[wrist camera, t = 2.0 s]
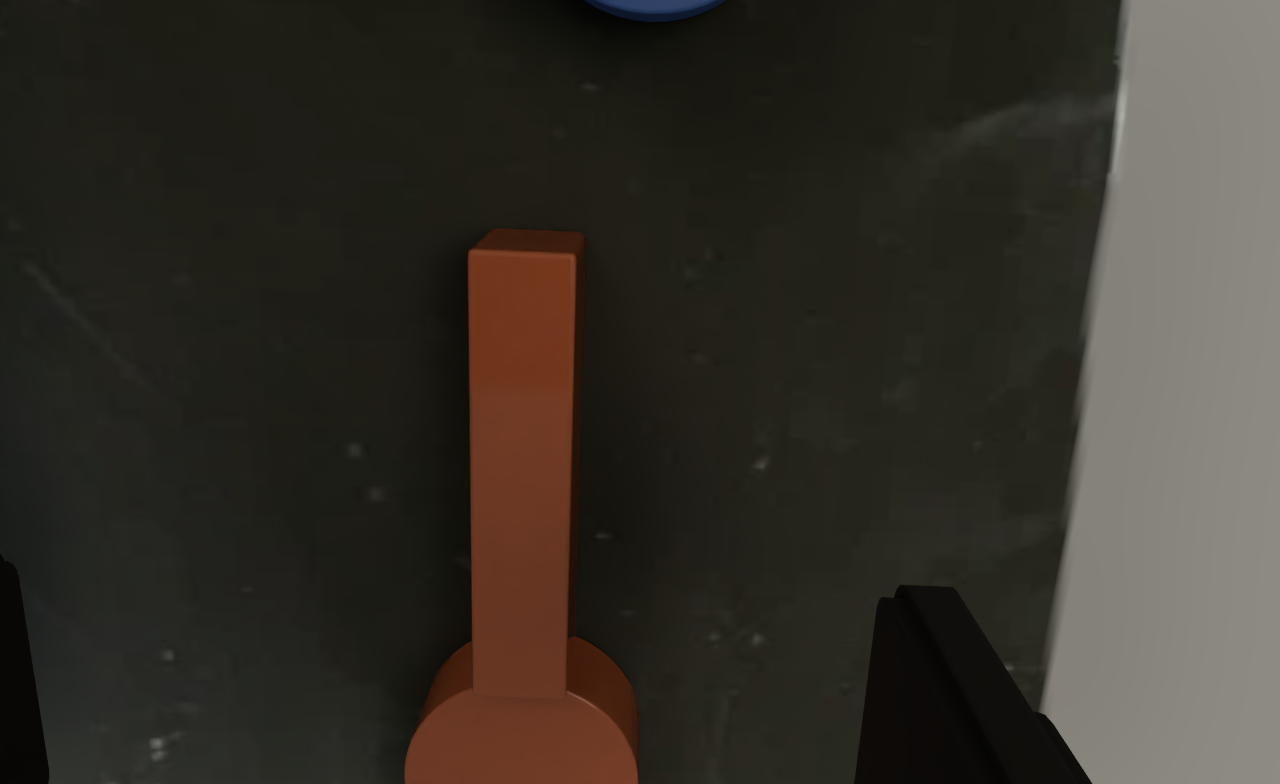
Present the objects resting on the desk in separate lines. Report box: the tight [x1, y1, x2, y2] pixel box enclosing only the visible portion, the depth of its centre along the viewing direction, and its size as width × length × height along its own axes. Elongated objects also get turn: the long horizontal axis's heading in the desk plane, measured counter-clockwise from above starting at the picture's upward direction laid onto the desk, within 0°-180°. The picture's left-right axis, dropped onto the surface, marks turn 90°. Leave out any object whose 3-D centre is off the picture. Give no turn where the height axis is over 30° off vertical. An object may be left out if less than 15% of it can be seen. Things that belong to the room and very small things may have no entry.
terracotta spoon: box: [404, 228, 639, 784], centre depth 17 cm, size 12×4×2 cm, turn 178°
